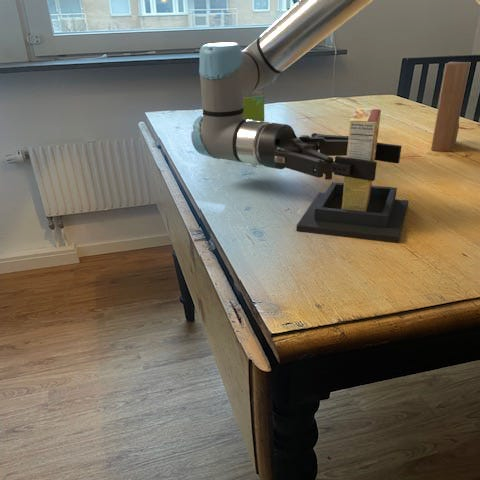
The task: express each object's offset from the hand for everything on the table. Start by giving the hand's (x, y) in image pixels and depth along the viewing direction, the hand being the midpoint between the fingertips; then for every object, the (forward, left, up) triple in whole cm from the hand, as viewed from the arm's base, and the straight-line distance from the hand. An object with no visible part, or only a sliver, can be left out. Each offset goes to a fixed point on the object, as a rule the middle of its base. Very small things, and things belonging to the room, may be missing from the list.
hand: (387, 162), depth 79 cm
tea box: (+39, -35, -10) cm, 53 cm away
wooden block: (-8, -48, -10) cm, 50 cm away
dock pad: (+4, 0, -10) cm, 10 cm away
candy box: (+4, -1, -9) cm, 10 cm away
